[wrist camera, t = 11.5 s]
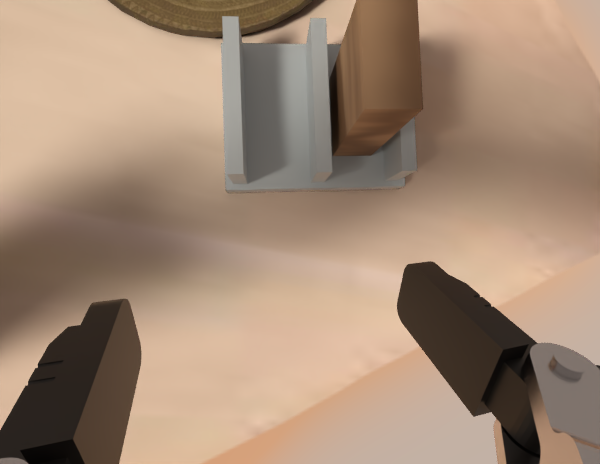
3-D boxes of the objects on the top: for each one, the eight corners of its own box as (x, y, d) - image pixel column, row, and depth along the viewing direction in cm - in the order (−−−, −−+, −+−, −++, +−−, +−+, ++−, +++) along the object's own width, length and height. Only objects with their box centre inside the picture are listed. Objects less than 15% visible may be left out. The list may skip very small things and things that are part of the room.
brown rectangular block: (332, 156, 28) (364, 109, 19) (329, 79, 29) (359, -9, 19) (371, 155, 29) (422, 108, 19) (367, 79, 29) (417, -7, 19)
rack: (228, 192, 29) (217, 181, 24) (223, 52, 30) (212, 9, 24) (398, 188, 30) (426, 176, 25) (392, 55, 31) (417, 14, 25)
